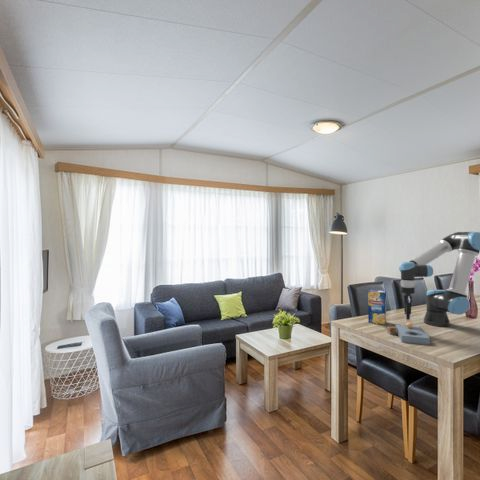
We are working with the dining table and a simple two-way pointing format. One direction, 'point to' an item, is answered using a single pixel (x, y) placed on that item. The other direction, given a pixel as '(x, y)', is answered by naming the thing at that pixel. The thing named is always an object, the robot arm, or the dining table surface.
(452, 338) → the dining table surface
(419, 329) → the gray slab with hole
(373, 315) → the blue food box
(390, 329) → the walnut block
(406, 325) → the ball
